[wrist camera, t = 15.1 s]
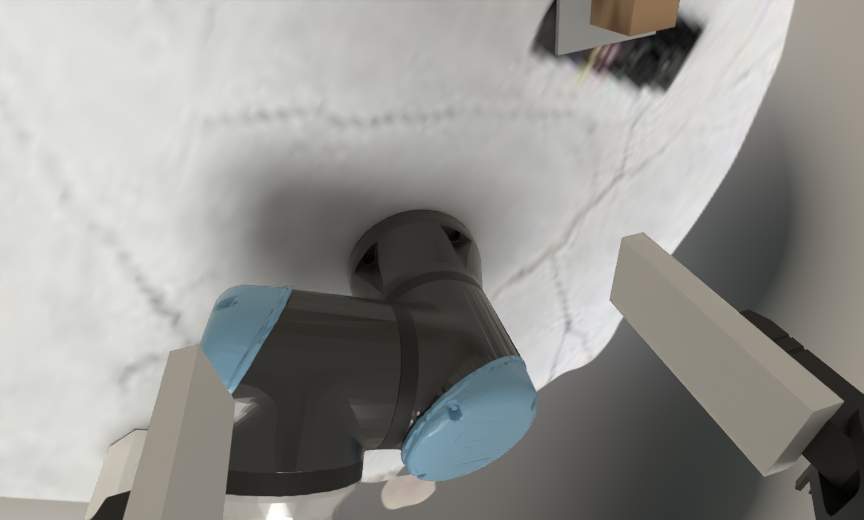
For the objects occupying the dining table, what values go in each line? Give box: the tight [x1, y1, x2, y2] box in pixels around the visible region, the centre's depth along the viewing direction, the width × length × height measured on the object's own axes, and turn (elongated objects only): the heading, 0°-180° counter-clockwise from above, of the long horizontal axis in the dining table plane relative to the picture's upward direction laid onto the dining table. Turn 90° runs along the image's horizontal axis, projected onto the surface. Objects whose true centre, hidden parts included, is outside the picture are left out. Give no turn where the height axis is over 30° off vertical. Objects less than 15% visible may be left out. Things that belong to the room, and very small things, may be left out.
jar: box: [84, 430, 148, 520], centre depth 53 cm, size 9×8×12 cm
